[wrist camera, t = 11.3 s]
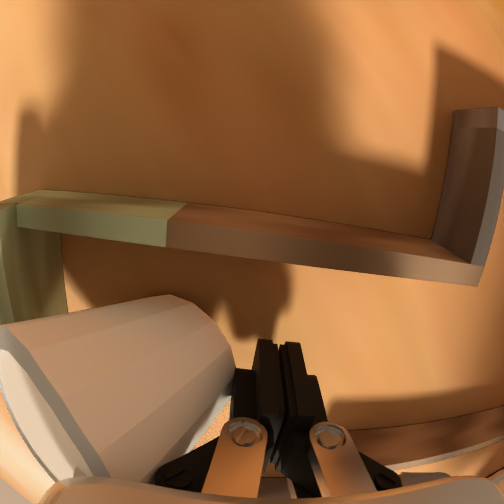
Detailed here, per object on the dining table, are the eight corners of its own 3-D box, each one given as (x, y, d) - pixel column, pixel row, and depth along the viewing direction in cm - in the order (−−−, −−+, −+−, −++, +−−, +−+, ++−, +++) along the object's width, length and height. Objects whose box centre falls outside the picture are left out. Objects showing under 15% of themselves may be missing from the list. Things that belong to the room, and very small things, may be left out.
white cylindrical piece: (254, 442, 11) (156, 560, 5) (133, 401, 14) (30, 463, 8) (249, 285, 10) (71, 371, 4) (112, 273, 13) (-27, 306, 7)
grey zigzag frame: (587, 193, 11) (626, 207, 7) (467, 455, 18) (483, 484, 14) (53, 61, 9) (-5, 43, 5) (90, 450, 17) (73, 490, 13)
